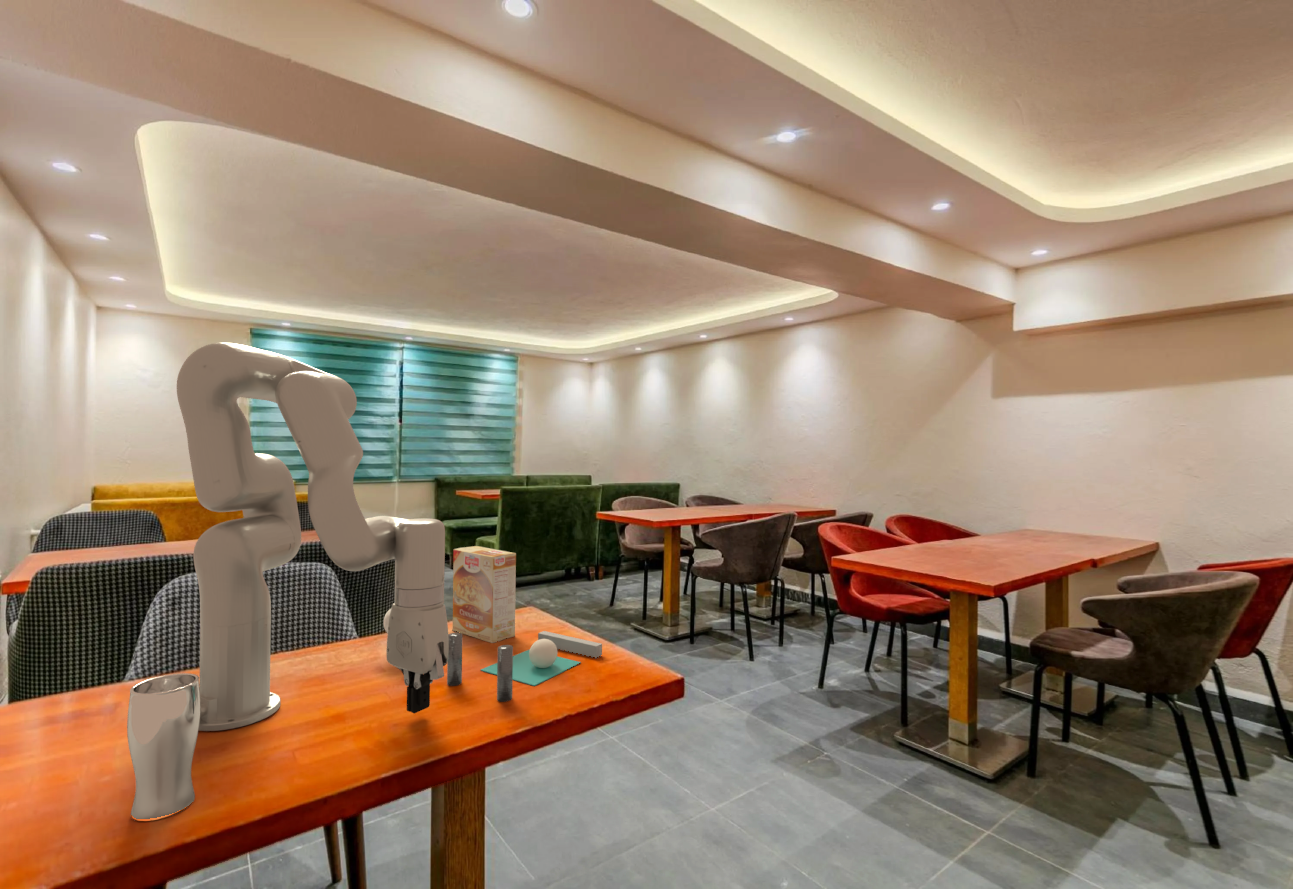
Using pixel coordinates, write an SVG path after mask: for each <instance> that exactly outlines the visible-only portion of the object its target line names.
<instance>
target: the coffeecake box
mask: <svg viewBox="0 0 1293 889" xmlns="http://www.w3.org/2000/svg"><path fill="white" fill-rule="evenodd" d="M452 559H453V562H452V563H453V564H452V565H453V566H452V568H453V572H452V573H453V574H452V576H453V577H452V628H451V629H452V631H453V632H456V631H457V632H456V633H459V632H460V633H462V635H465V636H469V637H472V638H475V639H479V640H481V641H485V642H488V643H491V644H494V643H498V642H501V641H503V640H506V638H507V639H509V638H512V637H515V636H516V590H517V589H516V588H517V587H516V585H517V583H516V581H517V580H516V578H517V576H516V573H517V570H516V567H517V553H516V552H510V551H507V550H501V549H495V548H489V547H484V546H478V545H474V546H473V545H472V546H466V547H465V546H464V547H458V548H454V549H453V558H452ZM497 641H498V642H497Z"/></svg>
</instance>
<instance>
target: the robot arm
mask: <svg viewBox="0 0 1293 889" xmlns="http://www.w3.org/2000/svg"><path fill="white" fill-rule="evenodd" d="M176 395H177V400H178V406H179V409H180V412H181V415H182V416H181V417H182V419H183V420H182V421H183V422H184V424H183V425H184V427H185V432H186V437H187V438H186V439H187V447H188V448H187V449H188V454H189V461H190V468H191V474H192V479H193V484H194V485H193V486H194V491H195V494H196V499H197V500H198V503H199V504H200V505H201V506H202V508H203V507H204V509H207V510H209V511H211V512H216V513H226V512H227V513H228V512H229V513H231V512H238V511H242V515H243V517H242V518H236V519H235V518H234V519H231V520H226V521H223V522H219V523H217V524H215V525H213V526H210V527H209V528H207V529H206V530H205V531H204V532H203V533H202V534H201V535H200V536H199V537H198V539H197V541H196V542H195V545H194V548H193V557H192V558H193V565H194V570H195V575H196V578H197V582H198V583H197V584H198V590H199V591H198V592H199V607H200V608H199V612H200V613H199V616H200V617H199V622H200V623H199V624H200V626H199V633H200V634H199V689H200V704H201V712H200V725H199V731H202V732H210V731H211V732H215V731H216V732H217V731H226V730H232V729H237V728H241V727H245V726H248V725H252V724H255V723H257V722H260V721H262V720H265V719H266V718H268V717H271V716H272V715H273V714H275V713H276V712H277V711H278V710H279V708H280V707H281V704H282V703H281V701H282V700H281V697H280V695H279V694H277V693H274V692H271V645H272V644H271V638H272V637H271V635H272V634H271V633H272V631H271V630H272V613H271V612H272V610H271V609H272V604H271V603H272V602H271V593H270V590H269V587H268V584H267V582H266V580H265V577H264V572H265V571H269V570H272V569H275V568H278V567H281V566H283V565H286V564H287V563H289V562H290V561H292V560H293V559H294V558H295V557H296V555H298V552H299V550H300V547H301V544H302V529H301V527H302V525H301V520H300V514H299V508H298V503H297V495H296V489H295V488H296V487H295V483H294V480H293V479H294V478H293V476H292V473H291V471H290V470H289V467H288V466H287V464H285V463H284V462H283V461H282V460H281V459H280V458H278V457H276V456H275V455H272V454H268V453H258V452H256V453H255V451H254V447H253V446H254V445H253V442H252V435H251V434H252V433H251V428H250V425H249V422H248V420H247V417H246V416H245V414H244V412H243V411H242V409H241V407H240V405H239V404H238V399H240V398H245V399H252V400H254V399H255V400H261V401H269V402H272V403H274V404H277V407H278V409H279V411H280V413H281V415H282V417H283V420H284V422H285V424H286V426H287V428H288V430H289V432H290V435H291V437H292V439H293V441H294V443H295V446H296V448H297V449H298V451H299V454H300V456H301V458H302V460H303V463H304V464H305V466H306V469H307V472H308V480H307V481H308V482H307V503H308V504H307V505H308V506H307V507H308V512H309V516H310V518H309V519H310V522H311V524H312V527H313V529H314V531H315V533H316V534H317V538H318V539H319V541H320V543H321V545H322V547H323V549H324V551H325V553H326V554H327V556H328V557H329V559H330V560H331V561H332V562H333V563H334V565H336V566H337V567H339V568H341V569H342V570H345V571H349V572H359V571H360V572H361V571H364V570H366V569H369V568H371V567H374V566H376V565H378V564H383V563H385V562H388V561H391V560H395V561H394V603H392V605H391V608H390V609H391V613H390V618H389V625H388V634H387V636H386V661H387V662H388V663H389V664H390V665H392V666H393V667H395V668H396V669H399V670H400V671H401V673H402V674H403V681H404V685H405V686H406V711H407V712H409V713H412V714H417V713H419V712H422V711H424V710H425V709H428V708H429V707H430V705H431V704H430V702H431V696H430V694H431V692H430V691H431V684H432V683H433V681H435V680H439V679H442V678H444V676H445V671H444V667H446V666H447V662H448V653H449V638H448V634H449V624H448V618H447V617H448V616H447V610H446V605H445V604H444V603H445V560H446V559H445V558H446V557H445V556H446V554H445V553H446V550H445V549H446V527H445V524H444V523H443V522H442V521H441V520H439V519H436V518H421V517H420V518H411V519H409V518H402V517H395V516H389V515H377V516H373V517H372V516H371V517H368V518H365V516H364V514H363V512H362V510H361V507H360V506H359V503H358V500H357V499H356V497H357V496H356V494H355V490H354V477H355V473H356V471H357V468H358V466H359V465H360V462H361V461H362V459H363V456H364V450H363V448H362V446H361V443H360V442H359V439H358V437H357V435H356V433H355V430H354V429H353V427H352V424H351V423H350V421H349V420H350V419H351V418H352V416H353V415H354V414H355V412H356V409H357V405H358V404H357V401H358V400H357V396H356V393H355V391H354V389H353V388H352V386H351V385H350V383H348V382H347V381H346V380H344V378H341V377H339V376H337V375H334V374H331V373H328V372H325V371H323V370H321V369H318V368H315V367H313V366H311V365H309V364H306V363H304V362H301V361H299V360H296V359H294V358H292V357H289V356H286V355H283V354H281V353H276V352H273V351H270V350H265V349H261V348H257V347H253V346H249V345H245V344H239V343H233V342H214V343H209V344H206V345H203V346H201V347H199V348H197V349H196V350H194V351H193V352H192V353H191V354H190V355H189V356H188V357H187V358H186V359H185V360H184V362H183V364H182V366H181V367H180V370H179V371H178V375H177V379H176ZM199 731H198V732H199Z"/></svg>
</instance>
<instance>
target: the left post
mask: <svg viewBox="0 0 1293 889" xmlns="http://www.w3.org/2000/svg"><path fill="white" fill-rule="evenodd" d="M448 638H449V653H448V662H447V664H446V666H447V667H446V668H447V671H446V672H447V674H446V685H447V686H450V687H455V686H459V685H461V684H462V683H463V634H462V633H459V632H450V633H448Z"/></svg>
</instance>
